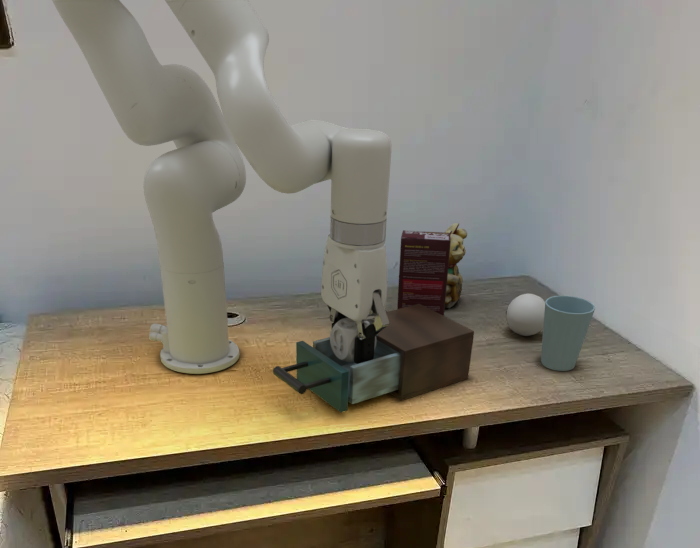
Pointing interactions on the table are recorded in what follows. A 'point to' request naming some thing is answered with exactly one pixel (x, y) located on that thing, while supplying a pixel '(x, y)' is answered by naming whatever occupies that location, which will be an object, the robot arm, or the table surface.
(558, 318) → the cup
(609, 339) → the table surface
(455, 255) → the decorative figurine
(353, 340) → the die
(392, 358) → the teal pull-out drawer
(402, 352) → the cabinet
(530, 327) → the white ball
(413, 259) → the supplement box
